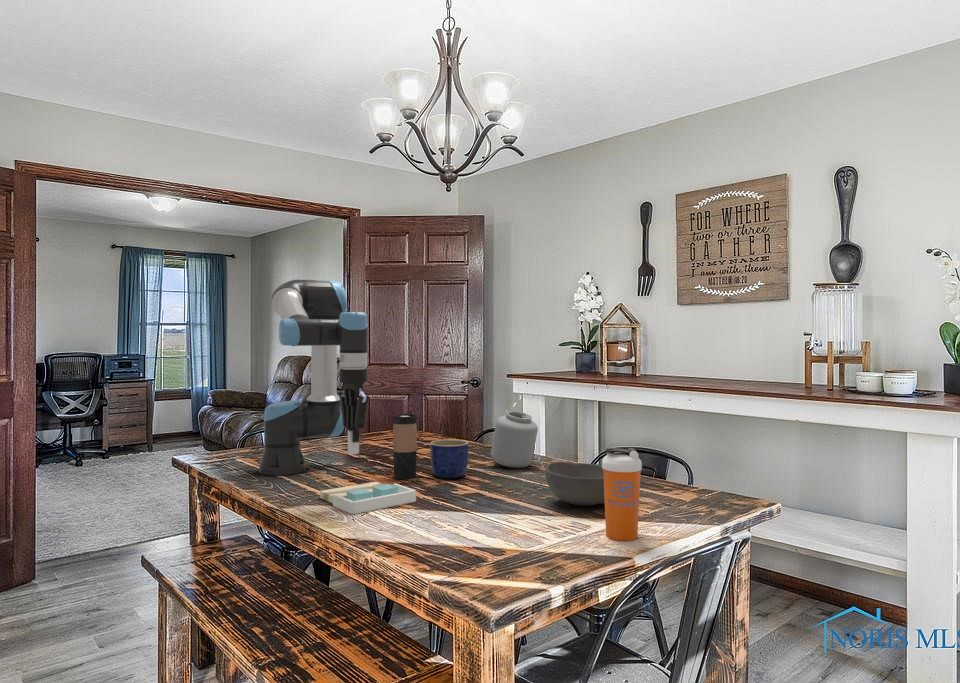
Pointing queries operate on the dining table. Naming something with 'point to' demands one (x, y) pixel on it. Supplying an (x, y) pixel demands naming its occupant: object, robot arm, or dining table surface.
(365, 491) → the tile
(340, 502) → the tray
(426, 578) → the dining table surface
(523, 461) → the jar
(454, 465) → the planter
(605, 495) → the shaker bottle
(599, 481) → the bowl
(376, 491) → the tile
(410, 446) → the travel mug
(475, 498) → the dining table surface
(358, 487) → the board
